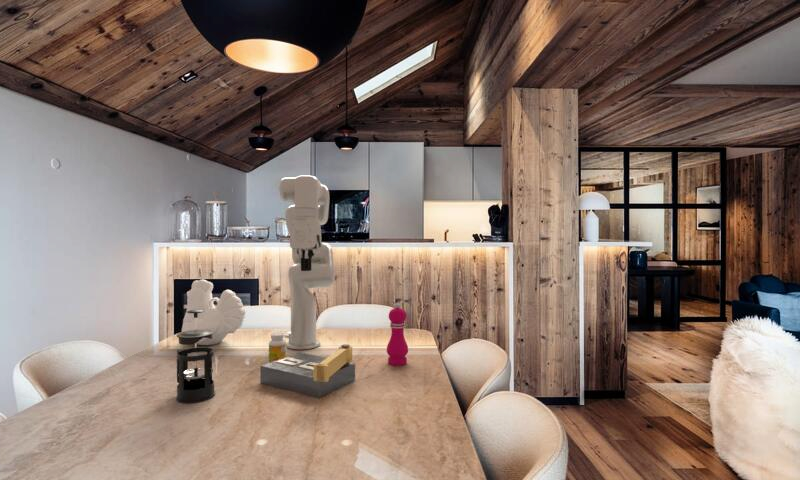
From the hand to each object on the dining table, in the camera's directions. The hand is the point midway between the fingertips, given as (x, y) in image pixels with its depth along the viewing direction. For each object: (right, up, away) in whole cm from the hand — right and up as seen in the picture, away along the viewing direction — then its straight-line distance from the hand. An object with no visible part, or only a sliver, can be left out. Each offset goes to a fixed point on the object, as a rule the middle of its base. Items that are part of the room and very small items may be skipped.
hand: (306, 270), depth 141 cm
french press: (-24, -32, -26) cm, 47 cm away
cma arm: (+13, -26, -22) cm, 36 cm away
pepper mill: (+30, -31, +4) cm, 43 cm away
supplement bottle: (-10, -31, +3) cm, 33 cm away
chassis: (+4, -31, -14) cm, 35 cm away
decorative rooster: (-42, -31, +26) cm, 58 cm away
